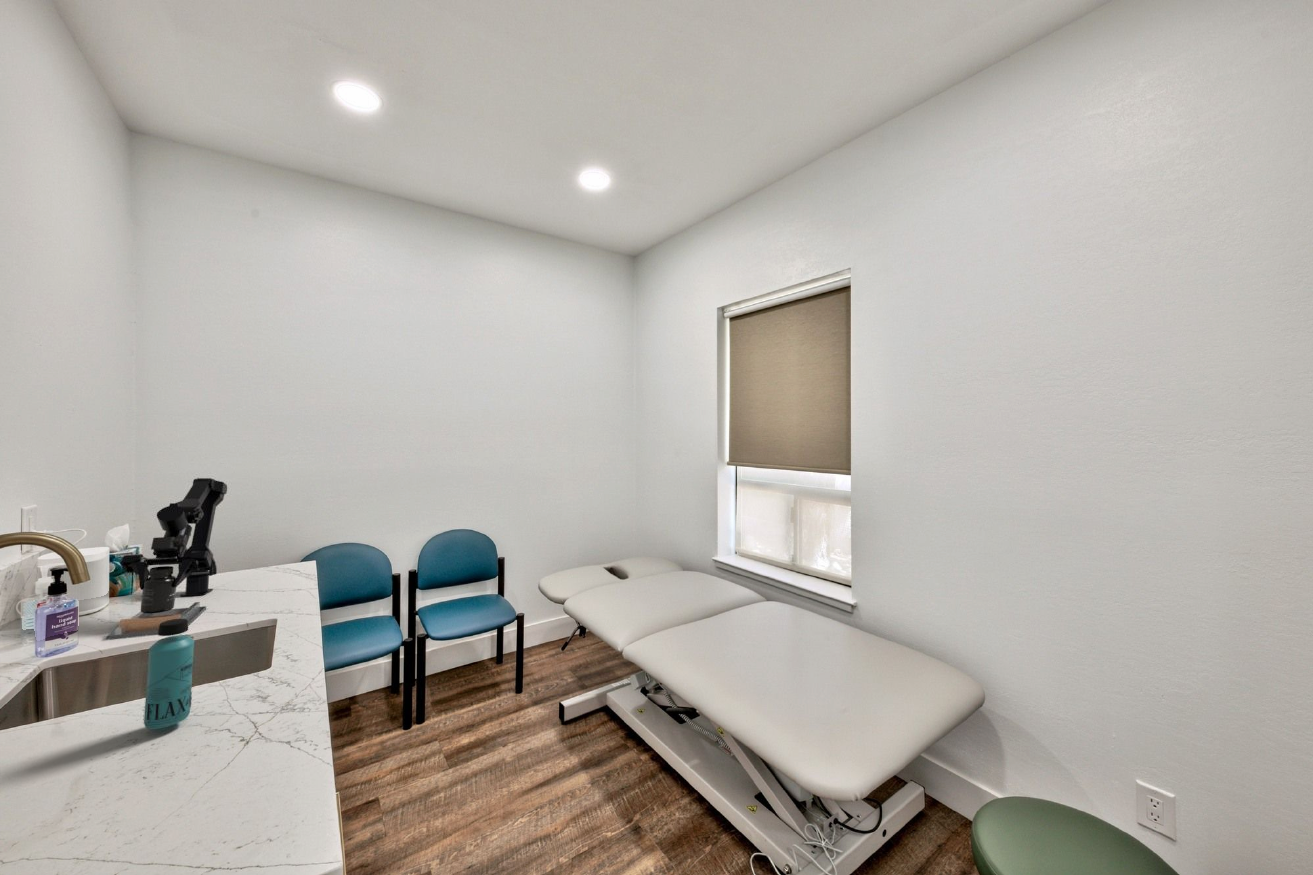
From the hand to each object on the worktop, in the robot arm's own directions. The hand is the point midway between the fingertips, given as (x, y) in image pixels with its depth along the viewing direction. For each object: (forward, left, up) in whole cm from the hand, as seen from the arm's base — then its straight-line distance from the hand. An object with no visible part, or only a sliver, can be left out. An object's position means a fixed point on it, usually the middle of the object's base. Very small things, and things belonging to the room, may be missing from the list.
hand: (158, 587), depth 140 cm
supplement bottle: (-1, -1, -7) cm, 7 cm away
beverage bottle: (+60, +31, -11) cm, 68 cm away
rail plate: (-3, -1, -11) cm, 11 cm away
